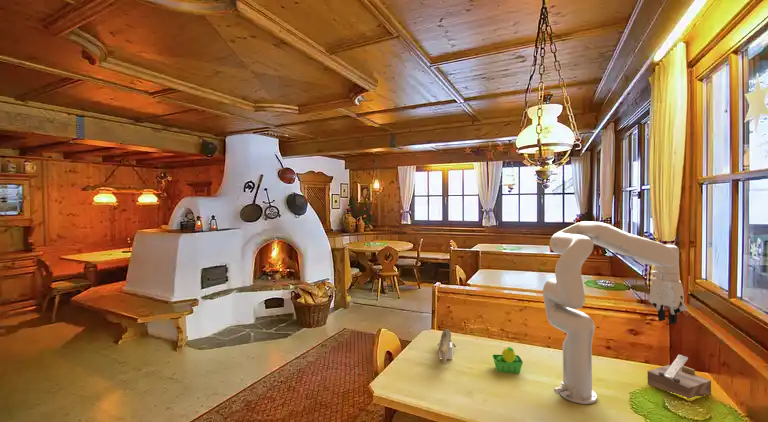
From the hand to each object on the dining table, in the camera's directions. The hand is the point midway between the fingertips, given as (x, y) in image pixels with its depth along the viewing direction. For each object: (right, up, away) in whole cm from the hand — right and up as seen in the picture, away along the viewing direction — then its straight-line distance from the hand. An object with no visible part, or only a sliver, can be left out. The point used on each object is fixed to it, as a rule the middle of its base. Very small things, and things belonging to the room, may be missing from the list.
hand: (667, 321), depth 142 cm
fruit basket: (-59, -25, +12) cm, 65 cm away
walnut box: (-1, -23, -6) cm, 24 cm away
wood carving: (-84, -25, +25) cm, 91 cm away
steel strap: (-2, -15, -7) cm, 17 cm away
